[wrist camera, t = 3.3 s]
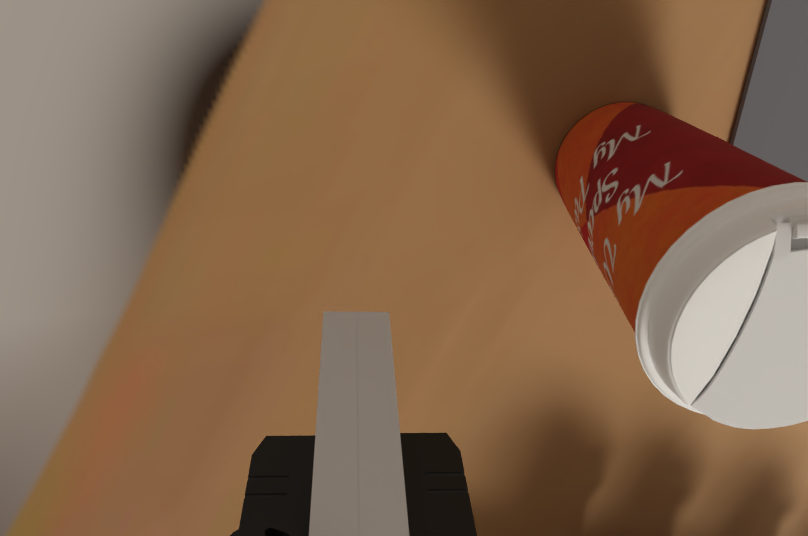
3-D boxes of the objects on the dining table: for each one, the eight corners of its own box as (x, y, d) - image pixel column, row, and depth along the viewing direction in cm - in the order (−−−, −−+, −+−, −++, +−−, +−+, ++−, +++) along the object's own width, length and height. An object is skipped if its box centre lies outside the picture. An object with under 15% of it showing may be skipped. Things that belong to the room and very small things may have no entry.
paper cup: (533, 82, 29) (672, 213, 17) (713, 69, 30) (978, 189, 17) (527, 250, 33) (638, 460, 21) (688, 237, 33) (892, 436, 21)
